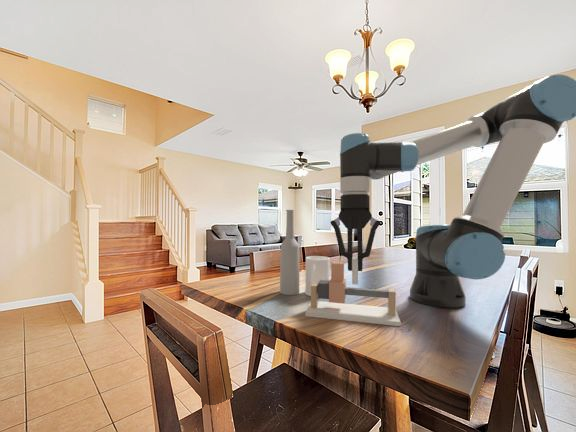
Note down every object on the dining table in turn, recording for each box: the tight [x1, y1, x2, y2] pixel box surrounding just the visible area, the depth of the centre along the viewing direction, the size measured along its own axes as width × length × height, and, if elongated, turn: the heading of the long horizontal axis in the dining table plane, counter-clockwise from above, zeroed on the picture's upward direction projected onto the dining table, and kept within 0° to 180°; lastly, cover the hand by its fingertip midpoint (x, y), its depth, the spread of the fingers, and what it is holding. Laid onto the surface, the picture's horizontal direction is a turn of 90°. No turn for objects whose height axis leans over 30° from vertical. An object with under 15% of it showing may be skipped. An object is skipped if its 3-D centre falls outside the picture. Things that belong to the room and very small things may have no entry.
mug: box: [304, 255, 331, 297], centre depth 89 cm, size 12×8×12 cm
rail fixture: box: [304, 280, 402, 327], centre depth 72 cm, size 23×10×8 cm, turn 75°
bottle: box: [279, 209, 300, 296], centre depth 91 cm, size 7×7×28 cm
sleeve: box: [328, 261, 347, 304], centre depth 73 cm, size 4×5×10 cm
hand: (355, 283), depth 72 cm, fingers closed
